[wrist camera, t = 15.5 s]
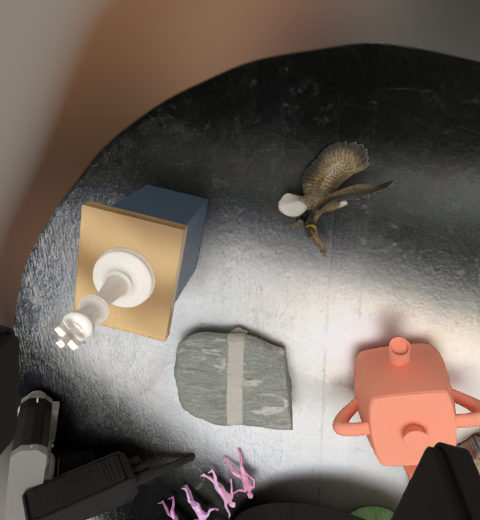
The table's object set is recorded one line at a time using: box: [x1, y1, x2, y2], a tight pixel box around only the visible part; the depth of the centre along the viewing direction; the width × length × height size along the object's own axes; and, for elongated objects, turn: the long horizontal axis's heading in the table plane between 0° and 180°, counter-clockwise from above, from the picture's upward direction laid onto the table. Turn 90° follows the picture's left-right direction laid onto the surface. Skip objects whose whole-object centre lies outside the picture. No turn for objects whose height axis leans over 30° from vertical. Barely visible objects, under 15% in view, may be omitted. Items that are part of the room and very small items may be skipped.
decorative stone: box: [174, 327, 293, 430], centre depth 50 cm, size 13×10×6 cm
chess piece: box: [54, 247, 155, 350], centre depth 31 cm, size 5×5×10 cm
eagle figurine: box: [278, 141, 396, 257], centre depth 41 cm, size 8×7×9 cm
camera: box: [4, 390, 94, 520], centre depth 57 cm, size 18×10×10 cm, turn 164°
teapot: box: [333, 337, 480, 480], centre depth 45 cm, size 14×12×10 cm
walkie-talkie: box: [22, 451, 195, 520], centre depth 55 cm, size 6×6×20 cm
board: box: [74, 201, 188, 341], centre depth 36 cm, size 10×8×1 cm
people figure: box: [158, 451, 255, 520], centre depth 59 cm, size 18×6×8 cm
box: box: [111, 184, 209, 302], centre depth 42 cm, size 8×7×12 cm
